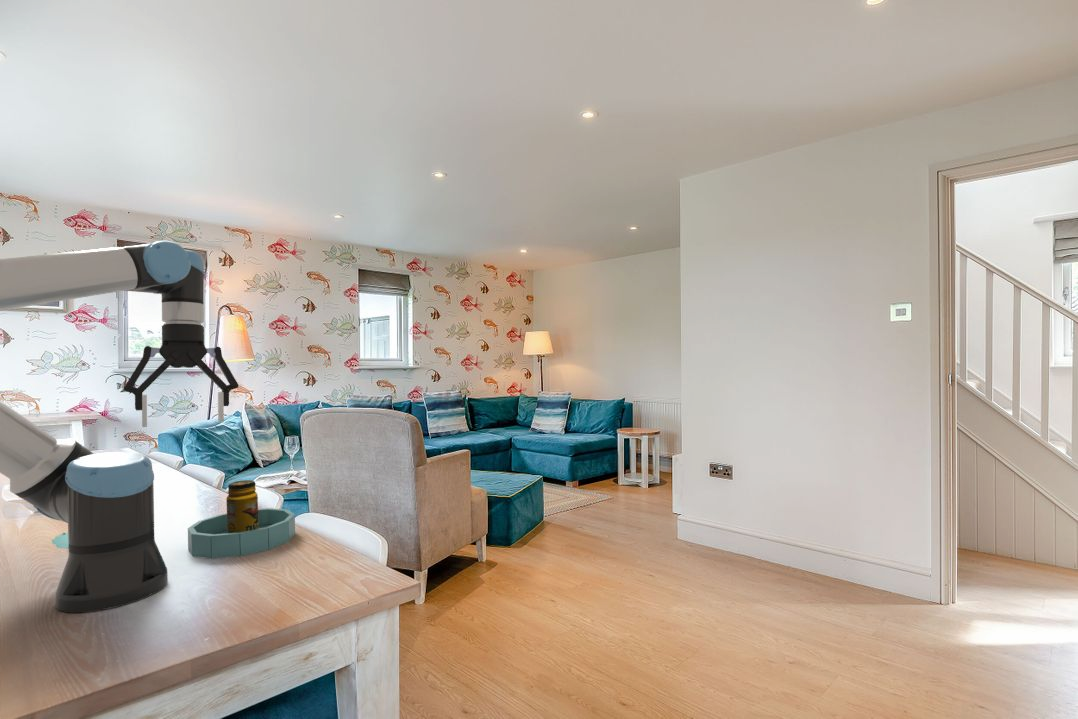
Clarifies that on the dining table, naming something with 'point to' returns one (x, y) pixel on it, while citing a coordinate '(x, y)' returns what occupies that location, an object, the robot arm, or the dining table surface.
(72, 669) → the dining table surface
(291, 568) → the dining table surface
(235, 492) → the yellow cylindrical bottle
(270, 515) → the bowl
